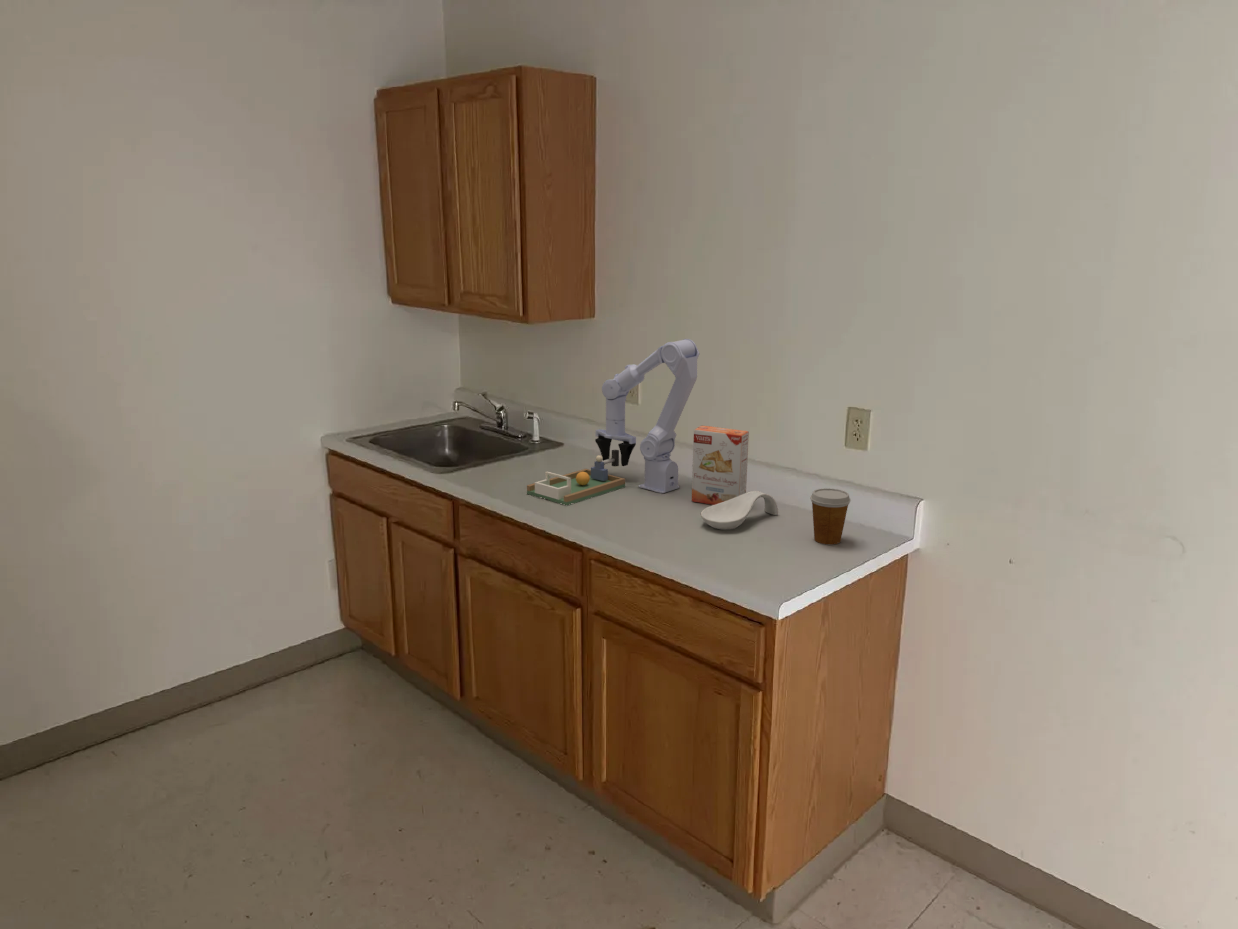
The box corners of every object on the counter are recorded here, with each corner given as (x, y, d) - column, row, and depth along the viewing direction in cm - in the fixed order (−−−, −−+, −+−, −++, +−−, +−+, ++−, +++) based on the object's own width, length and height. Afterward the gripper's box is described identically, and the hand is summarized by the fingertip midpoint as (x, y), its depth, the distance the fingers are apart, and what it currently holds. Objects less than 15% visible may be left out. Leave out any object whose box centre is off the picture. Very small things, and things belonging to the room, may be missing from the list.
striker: (623, 474, 268) (624, 451, 266) (603, 481, 262) (603, 457, 260) (611, 471, 271) (611, 448, 270) (590, 477, 265) (590, 454, 263)
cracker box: (690, 502, 247) (692, 428, 242) (699, 496, 252) (701, 424, 247) (738, 510, 241) (741, 434, 235) (746, 504, 246) (749, 430, 241)
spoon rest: (723, 538, 221) (724, 510, 219) (691, 525, 230) (691, 498, 228) (788, 519, 235) (789, 493, 233) (755, 508, 244) (756, 482, 242)
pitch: (625, 486, 261) (625, 466, 259) (566, 505, 244) (566, 483, 242) (585, 476, 271) (585, 456, 270) (527, 493, 254) (526, 472, 252)
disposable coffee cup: (818, 531, 225) (821, 485, 222) (854, 539, 219) (857, 492, 216) (800, 541, 218) (803, 494, 215) (836, 550, 212) (840, 501, 209)
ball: (592, 485, 259) (592, 471, 258) (582, 488, 256) (582, 474, 255) (582, 482, 262) (582, 469, 261) (573, 485, 259) (572, 471, 258)
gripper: (588, 417, 266) (588, 461, 270) (624, 424, 257) (624, 470, 261) (604, 413, 271) (604, 456, 275) (640, 420, 262) (640, 465, 266)
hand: (615, 463), depth 268 cm, fingers open, 7 cm apart
